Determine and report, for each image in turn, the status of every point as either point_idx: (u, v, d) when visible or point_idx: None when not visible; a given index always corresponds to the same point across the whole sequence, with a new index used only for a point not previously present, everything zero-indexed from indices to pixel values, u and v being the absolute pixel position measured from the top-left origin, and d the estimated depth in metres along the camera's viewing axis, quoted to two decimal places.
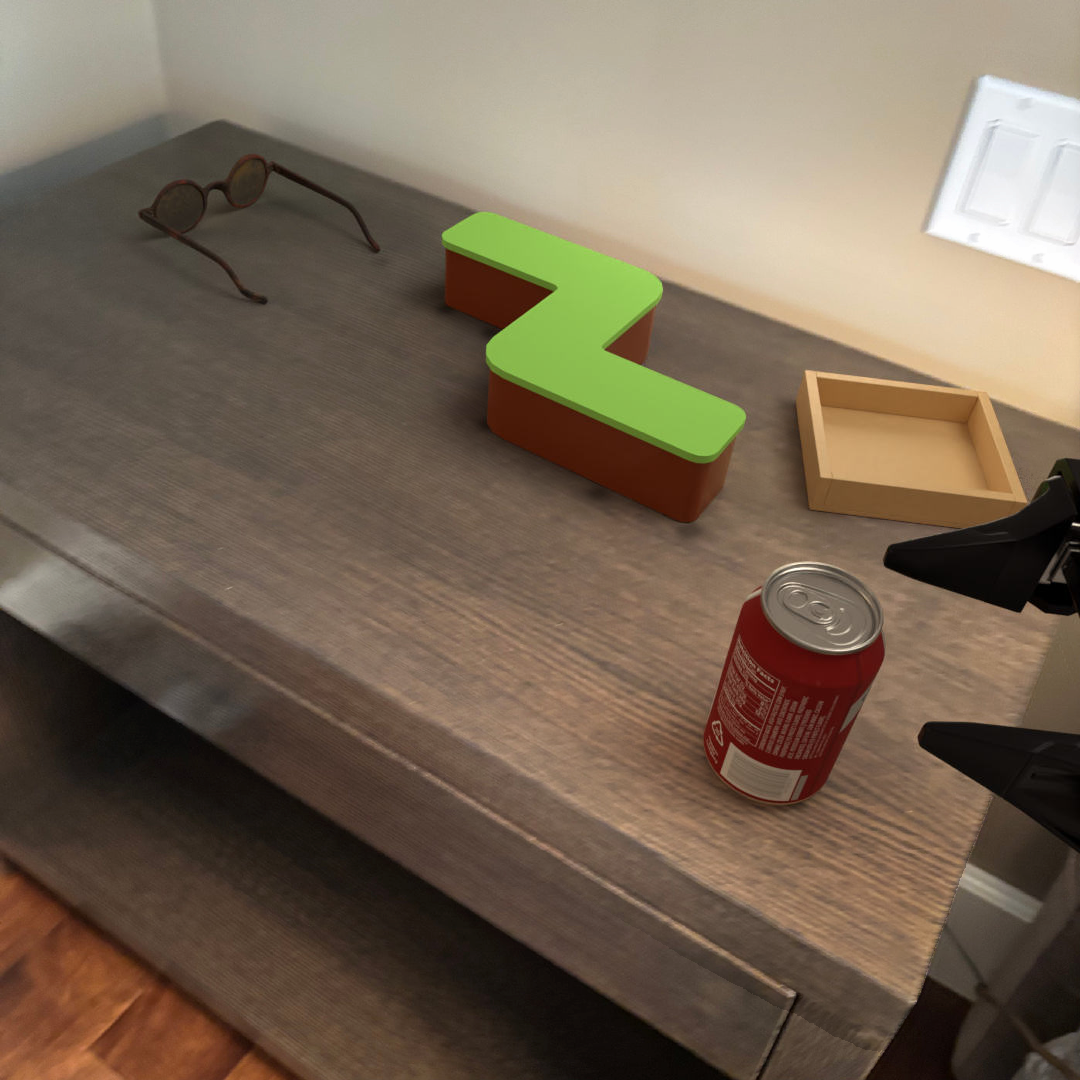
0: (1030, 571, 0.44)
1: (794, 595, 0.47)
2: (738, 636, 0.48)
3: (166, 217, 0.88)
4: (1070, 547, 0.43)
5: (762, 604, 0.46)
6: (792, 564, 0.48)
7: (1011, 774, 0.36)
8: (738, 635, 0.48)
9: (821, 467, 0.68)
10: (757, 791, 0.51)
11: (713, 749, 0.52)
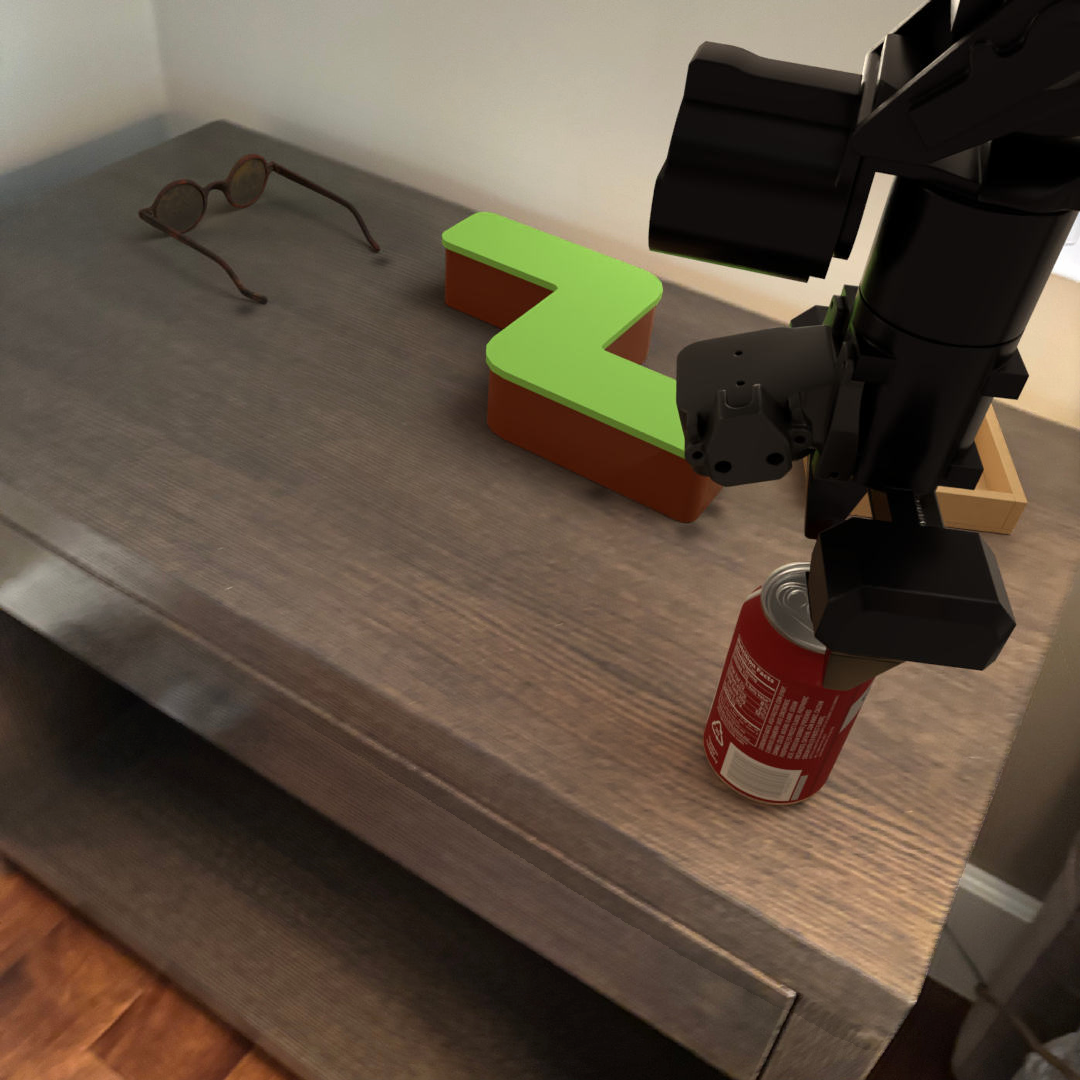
0: None
1: (794, 595, 0.47)
2: (738, 636, 0.48)
3: (166, 217, 0.88)
4: None
5: (762, 604, 0.46)
6: (792, 564, 0.48)
7: (865, 660, 0.40)
8: (738, 635, 0.48)
9: None
10: (757, 791, 0.51)
11: (713, 749, 0.52)
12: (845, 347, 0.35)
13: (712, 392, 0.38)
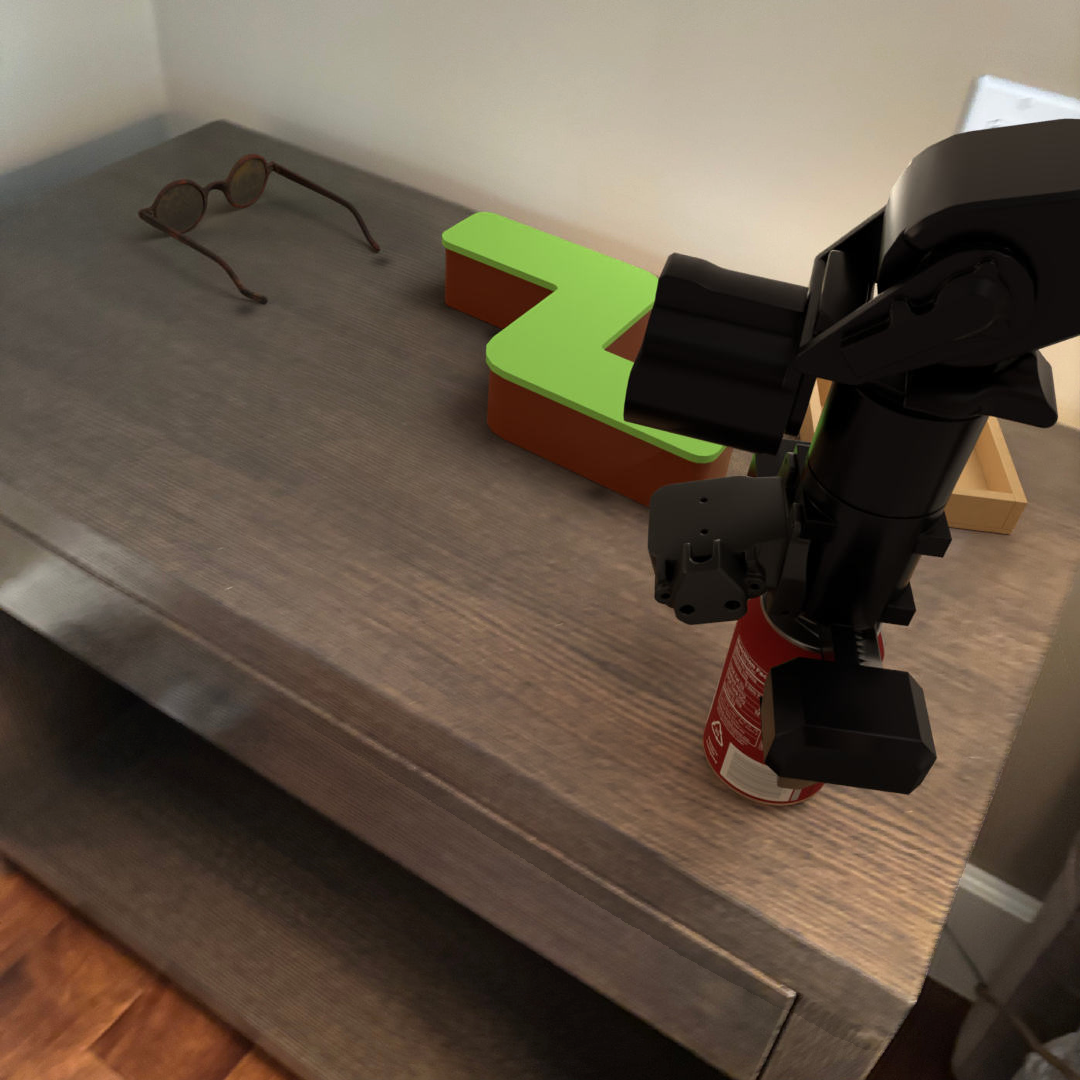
0: None
1: None
2: (738, 636, 0.48)
3: (166, 217, 0.88)
4: None
5: (762, 604, 0.46)
6: None
7: None
8: (738, 635, 0.48)
9: None
10: (757, 792, 0.51)
11: (713, 749, 0.52)
12: (794, 508, 0.41)
13: (679, 539, 0.43)
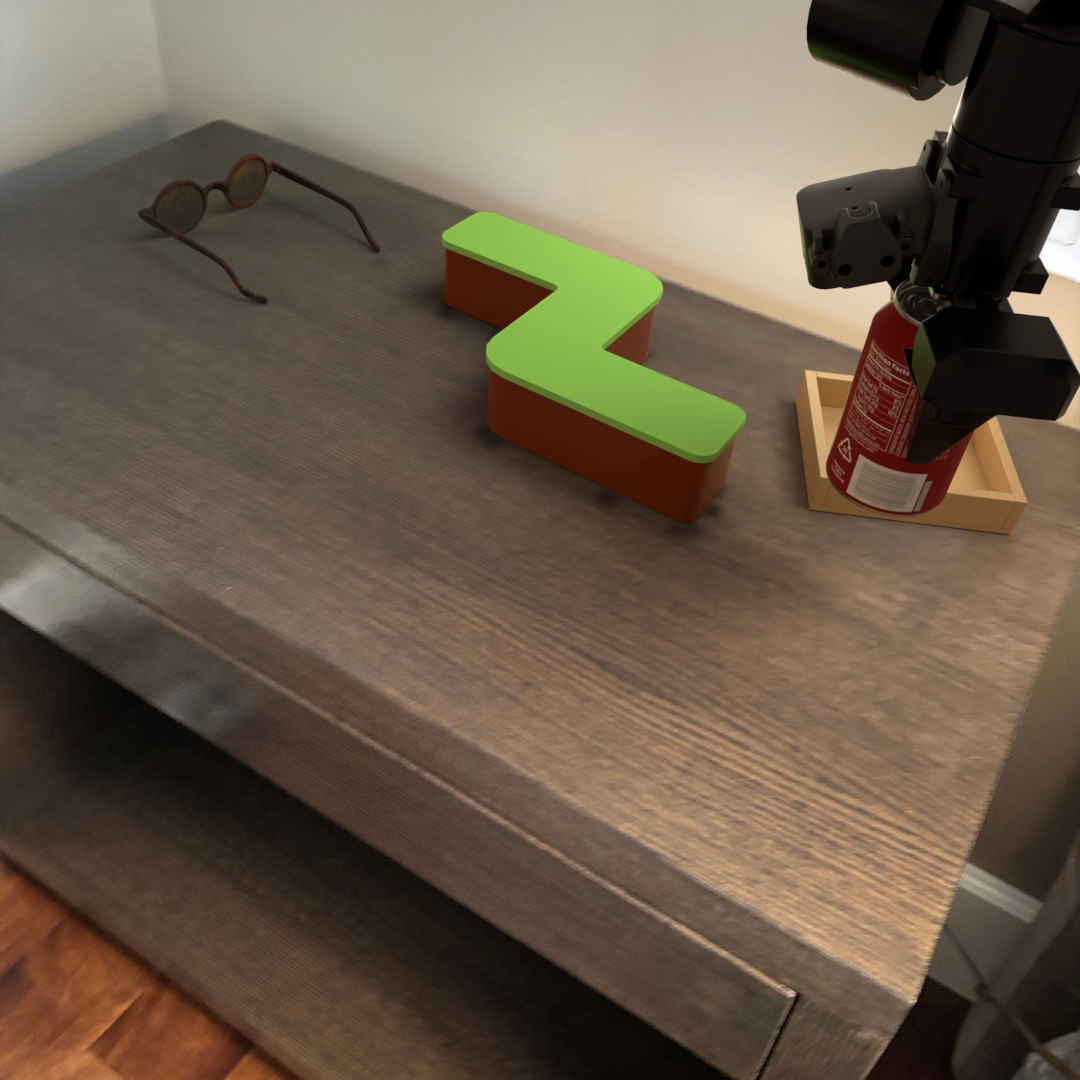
0: None
1: (922, 302, 0.51)
2: (871, 342, 0.52)
3: (166, 217, 0.88)
4: None
5: (896, 304, 0.50)
6: None
7: (945, 428, 0.50)
8: (871, 341, 0.52)
9: (821, 467, 0.68)
10: (883, 503, 0.55)
11: (839, 469, 0.57)
12: (942, 171, 0.45)
13: (831, 216, 0.47)
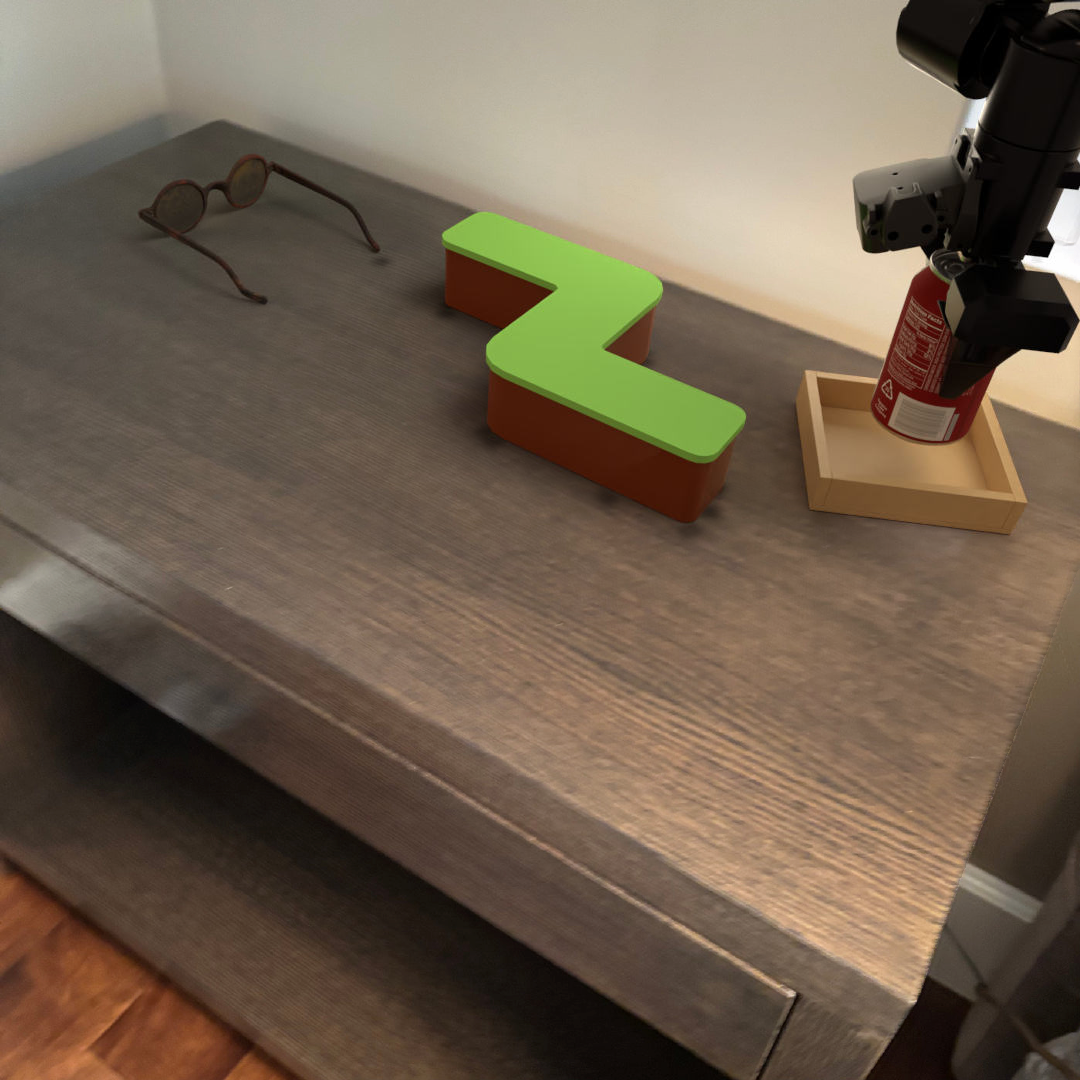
0: None
1: (953, 266, 0.64)
2: (911, 298, 0.64)
3: (166, 217, 0.88)
4: None
5: (932, 267, 0.63)
6: None
7: (971, 366, 0.62)
8: (911, 298, 0.64)
9: (821, 467, 0.68)
10: (919, 433, 0.68)
11: (882, 406, 0.69)
12: (970, 159, 0.57)
13: (882, 194, 0.59)
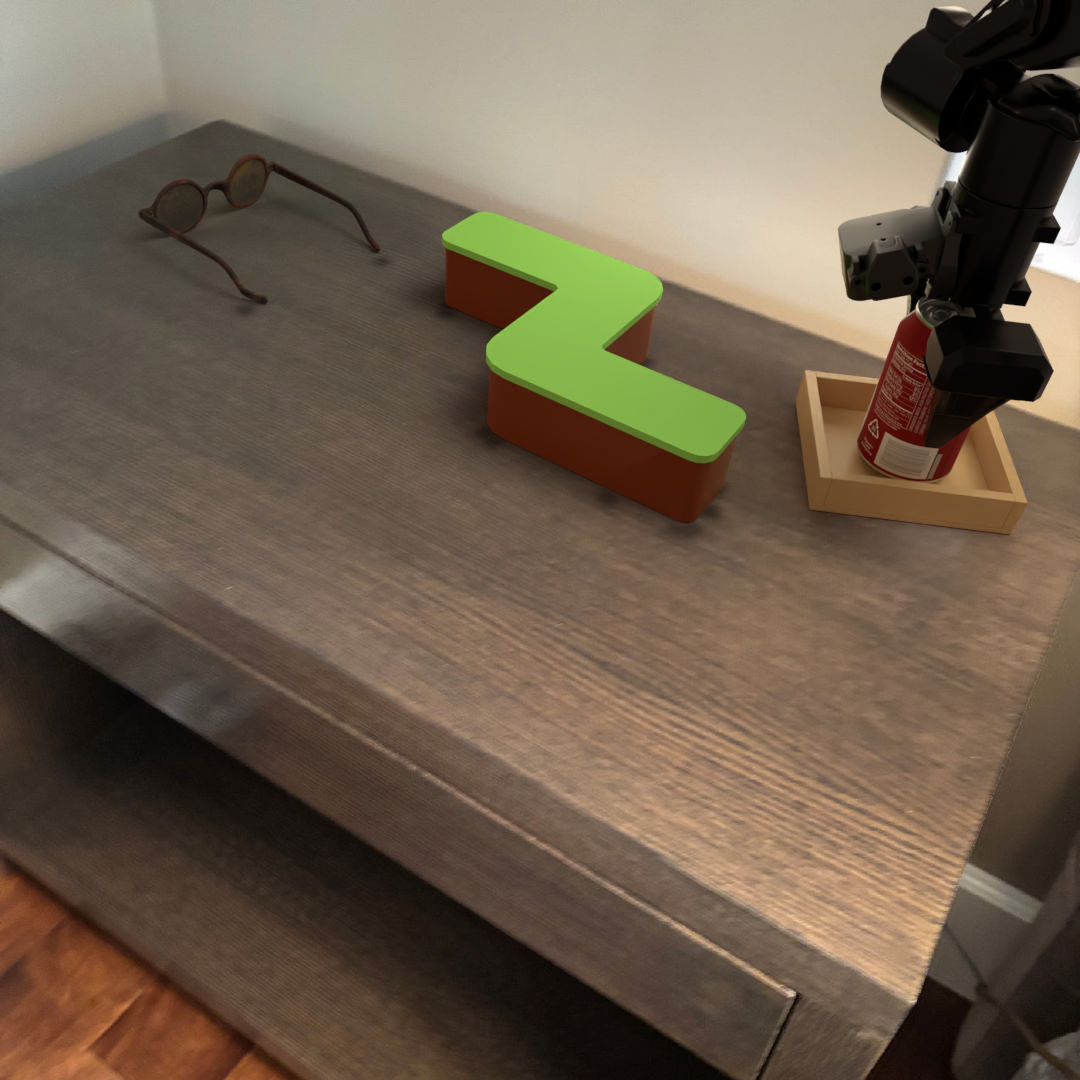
0: None
1: (938, 312, 0.66)
2: (897, 343, 0.66)
3: (166, 217, 0.88)
4: None
5: (918, 313, 0.65)
6: None
7: (955, 419, 0.64)
8: (897, 342, 0.66)
9: (821, 467, 0.68)
10: (903, 471, 0.70)
11: (869, 444, 0.71)
12: (950, 213, 0.59)
13: (865, 245, 0.61)
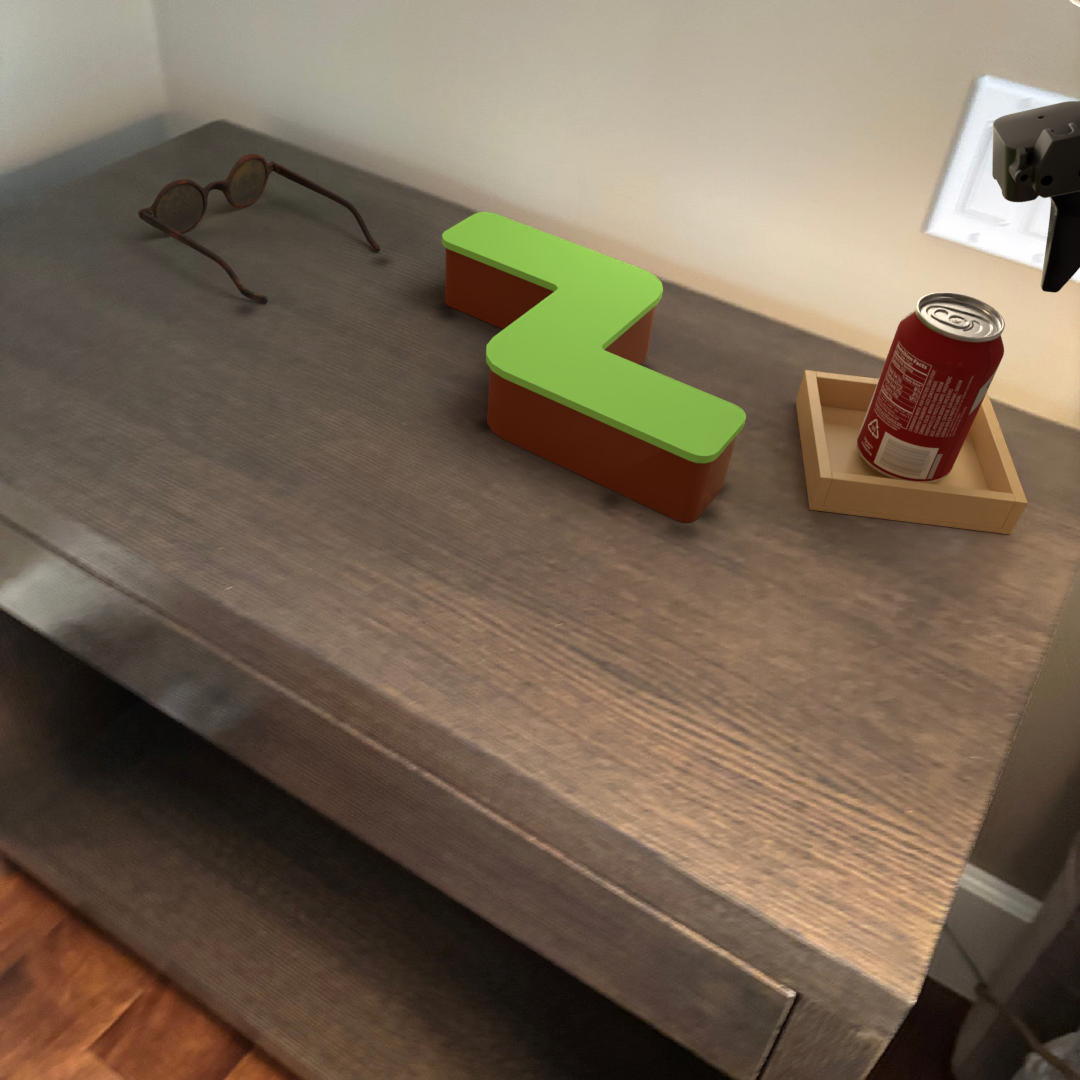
0: None
1: (938, 312, 0.66)
2: (897, 343, 0.66)
3: (166, 217, 0.88)
4: None
5: (918, 313, 0.65)
6: (935, 293, 0.67)
7: None
8: (897, 342, 0.66)
9: (821, 467, 0.68)
10: (903, 471, 0.70)
11: (869, 444, 0.71)
12: None
13: (1030, 137, 0.55)
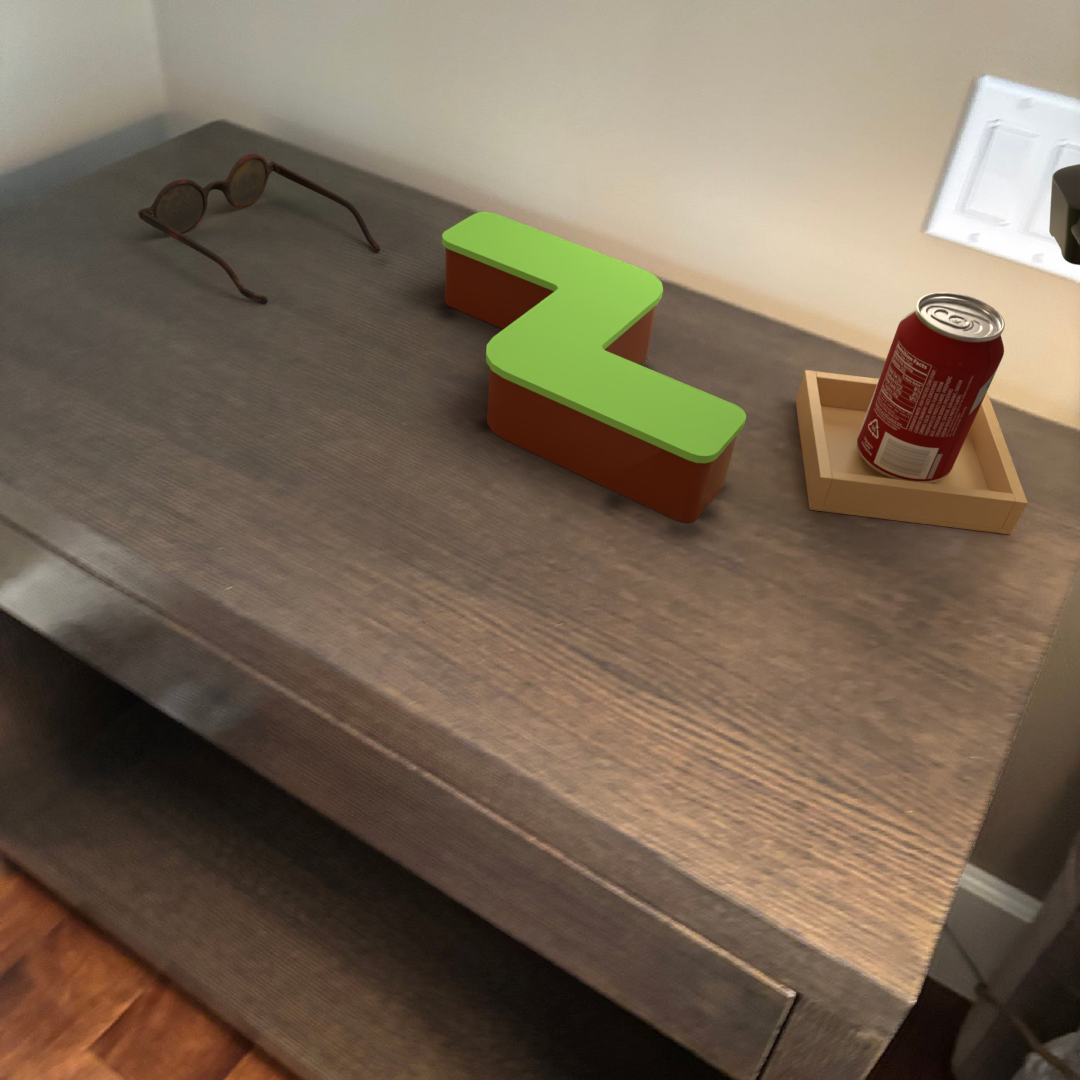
0: None
1: (938, 312, 0.66)
2: (897, 343, 0.66)
3: (166, 217, 0.88)
4: None
5: (918, 313, 0.65)
6: (935, 293, 0.67)
7: None
8: (897, 342, 0.66)
9: (821, 467, 0.68)
10: (903, 471, 0.70)
11: (869, 444, 0.71)
12: None
13: None
